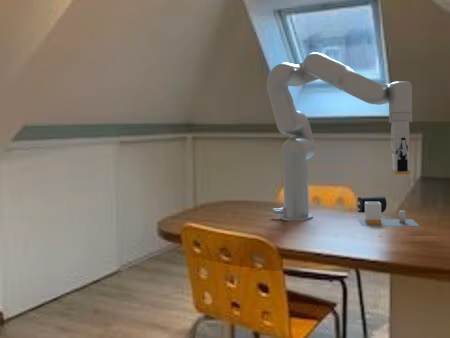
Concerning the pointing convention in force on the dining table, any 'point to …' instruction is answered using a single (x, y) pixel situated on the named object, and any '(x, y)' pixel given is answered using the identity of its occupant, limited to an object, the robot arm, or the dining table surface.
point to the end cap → (371, 199)
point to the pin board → (392, 221)
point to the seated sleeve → (373, 212)
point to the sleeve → (395, 165)
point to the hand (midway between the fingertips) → (401, 170)
